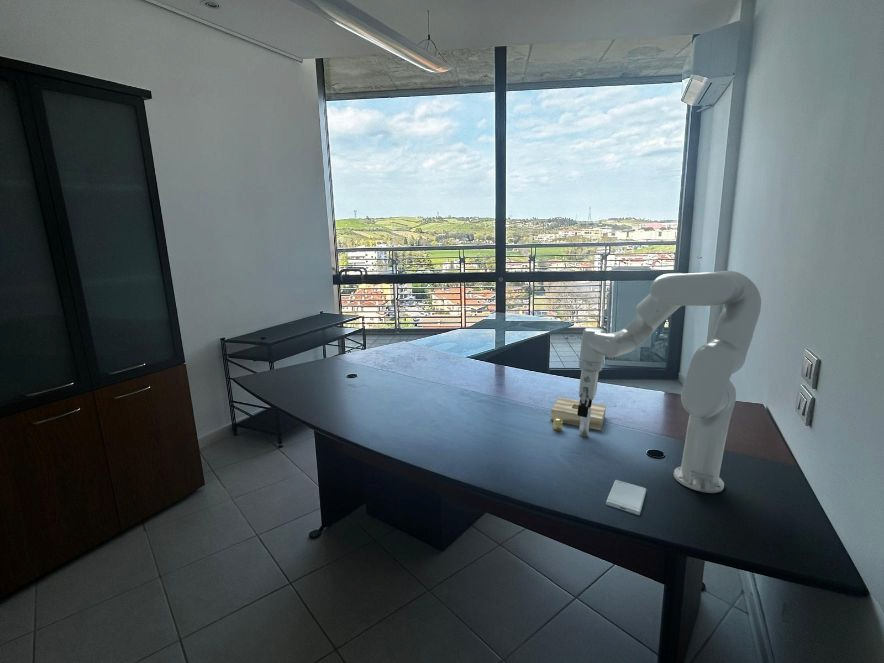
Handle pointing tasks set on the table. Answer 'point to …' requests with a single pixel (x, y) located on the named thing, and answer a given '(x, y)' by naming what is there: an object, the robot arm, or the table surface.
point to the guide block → (569, 411)
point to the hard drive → (626, 497)
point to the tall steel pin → (585, 424)
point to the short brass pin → (557, 424)
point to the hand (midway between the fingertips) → (584, 411)
